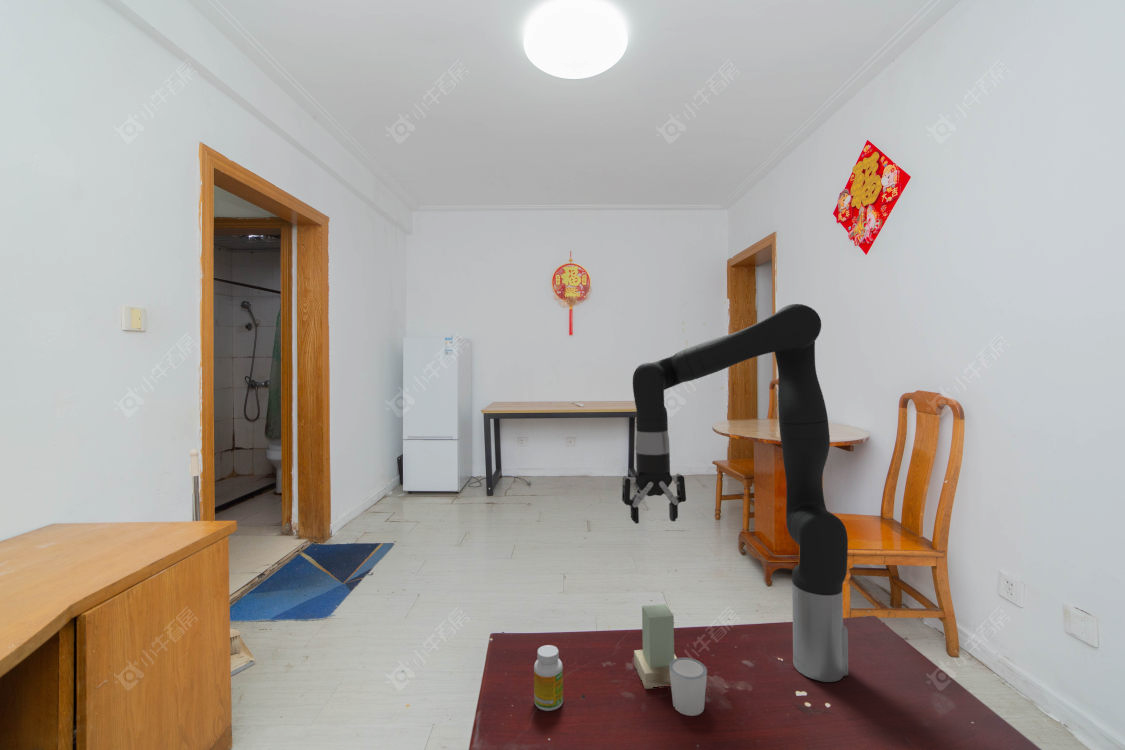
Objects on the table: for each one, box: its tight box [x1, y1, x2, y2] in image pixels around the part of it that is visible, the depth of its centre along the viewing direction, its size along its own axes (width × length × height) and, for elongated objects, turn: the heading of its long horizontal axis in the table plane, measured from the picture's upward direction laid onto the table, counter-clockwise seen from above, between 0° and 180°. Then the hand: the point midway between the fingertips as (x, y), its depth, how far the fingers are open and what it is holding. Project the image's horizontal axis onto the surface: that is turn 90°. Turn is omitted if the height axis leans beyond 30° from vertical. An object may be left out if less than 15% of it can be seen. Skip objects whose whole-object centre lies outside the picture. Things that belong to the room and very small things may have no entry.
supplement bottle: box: [533, 644, 564, 712], centre depth 92 cm, size 5×5×10 cm
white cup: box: [669, 657, 708, 717], centre depth 90 cm, size 7×7×7 cm
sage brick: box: [641, 603, 675, 668], centre depth 100 cm, size 5×5×10 cm
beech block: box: [633, 649, 678, 690], centre depth 100 cm, size 8×8×3 cm
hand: (654, 521), depth 111 cm, fingers open, 8 cm apart
